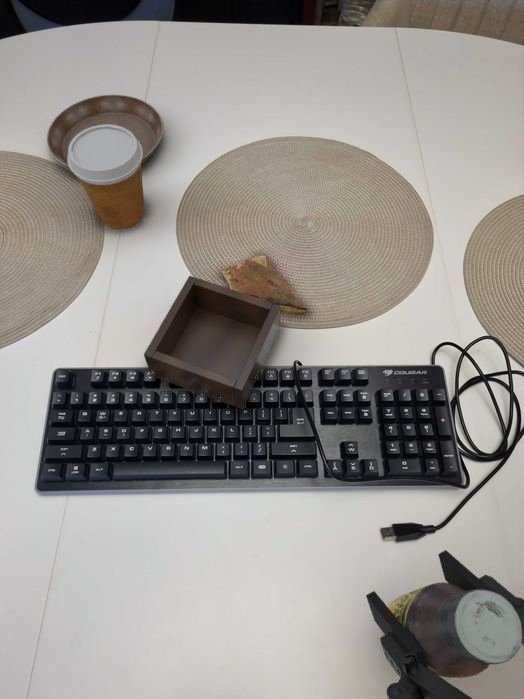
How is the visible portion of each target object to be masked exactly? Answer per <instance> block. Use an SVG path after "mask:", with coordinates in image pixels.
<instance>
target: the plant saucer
mask: <svg viewBox="0 0 524 699" xmlns="http://www.w3.org/2000/svg"><path fill="white" fill-rule="evenodd" d="M163 123H164V122H163V119H162V117H161V115H160V113H159V112H158V111H157V110H156V109H155V107H153V106H152V105H151V104H149V103H148V102H146V101H144V100H142V99H139V98H137V97H133V96H130V95H123V94H103V95H96V96H92V97H88V98H85V99H82V100H80V101H77V102H75V103H73V104H71V105H70V106H68V107H67V108H65V109H64V110H62V111H61V112H60V113H58V115H57V116H56V117H55V118H54V120H52V122H51V124H50V126H49V127H48V131H47V134H46V143H47V144H46V145H47V148H48V150H49V152H50V154H51V155H52V156H53V157H54V159H56V161H58V162H59V163H60V164H61V165H63V166H64V167H66V168H68V169H70V168H69V165H68V161H67V157H68V148H69V145H70V142H71V141H72V139H73V138H74V137H75V136H76V135H77V134H79V133H80V132H82V131H83V130H85V129H88V128H90V127H93V126H98V125H117V126H120V127H123V128H125V129H127V130H129V131H130V132H131V133H132V134H133V135H134V136H135V138H136V139H137V140H138V141H139V143H140V144H141V146H142V150H143V157H142V161H141V165H143V164H144V163H145V162H146V161H147V160H148V159H149V158H150V157H151V156H152V155H153V154H154V152H155V151H156V150H157V147H158V146H159V144H160V143H161V139H162V138H163V137H162V136H163V133H164V124H163Z"/></svg>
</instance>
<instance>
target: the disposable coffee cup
mask: <svg viewBox="0 0 524 699" xmlns="http://www.w3.org/2000/svg"><path fill="white" fill-rule="evenodd" d="M142 157H143V150H142V146H141V144H140V143H139V141H138V140H137V139H136V138H135V136H134V135H133V134H132V133H131V132H130V131H129V130H127V129H125V128H123V127H120V126H117V125H98V126H93V127H90V128H88V129H85V130H83V131H82V132H80V133H79V134H77V135H76V136H75V137H74V138H73V139H72V141H71V142H70V145H69V148H68V157H67V161H68V165H69V168H68V169H69V170H70V171H71V172H72V173H73V174H74V175H75V176H76V177H77V179H78V180H79V182H80V184H81V186H82V187H83V189H84V192H85V193H86V194H87V196H88V198H89V200H90V202H91V204H92V206H93V207H94V208H93V209H95V211H96V213H97V215H98V217H99V218H100V220H101V222H102V224H103V225H105V226H106V227H108V228H111V229H114V230H125V229H130V228H132V227H135V226H136V225H138V224H139V223H140V222H141V221H142V220H143V218H144V216H145V199H144V198H145V197H144V187H143V186H144V185H143V172H142V164H141V161H142Z"/></svg>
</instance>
